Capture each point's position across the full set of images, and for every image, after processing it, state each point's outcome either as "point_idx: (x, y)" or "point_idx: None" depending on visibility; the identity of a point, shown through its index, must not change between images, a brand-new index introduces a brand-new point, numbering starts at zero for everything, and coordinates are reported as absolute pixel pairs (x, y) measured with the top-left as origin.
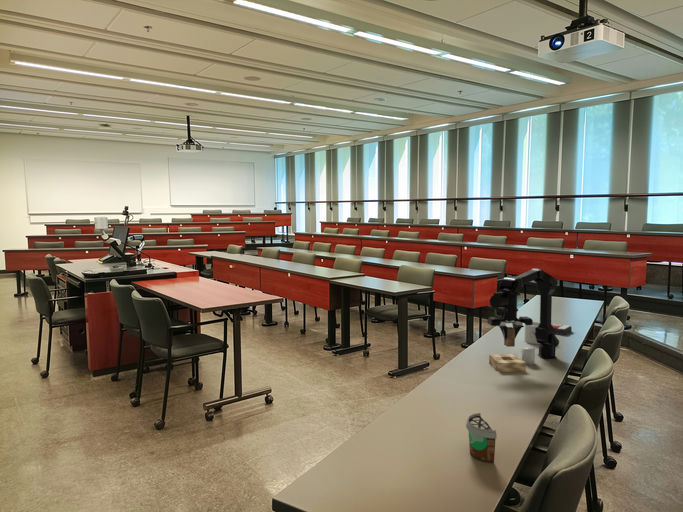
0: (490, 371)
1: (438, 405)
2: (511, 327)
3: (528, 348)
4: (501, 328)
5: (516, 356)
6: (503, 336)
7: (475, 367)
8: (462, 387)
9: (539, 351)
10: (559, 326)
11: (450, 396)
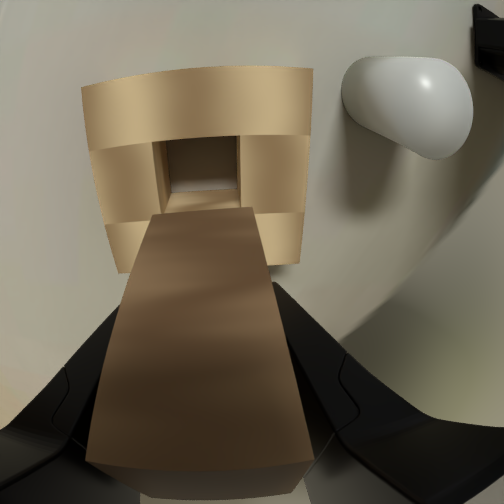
0: (91, 233)
1: (21, 401)
2: (276, 475)
3: (436, 116)
4: (36, 442)
5: (298, 132)
6: (107, 326)
7: (26, 176)
8: (27, 356)
9: (490, 27)
10: None
11: (23, 383)
